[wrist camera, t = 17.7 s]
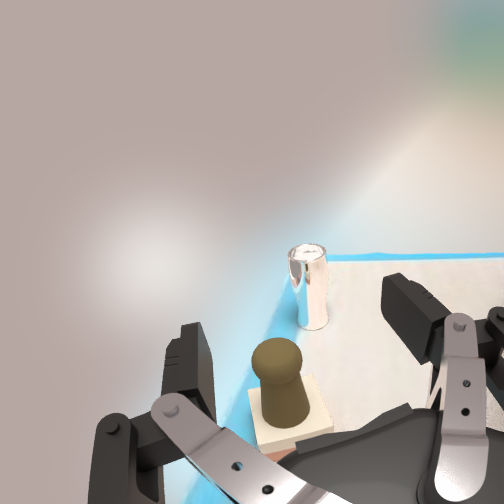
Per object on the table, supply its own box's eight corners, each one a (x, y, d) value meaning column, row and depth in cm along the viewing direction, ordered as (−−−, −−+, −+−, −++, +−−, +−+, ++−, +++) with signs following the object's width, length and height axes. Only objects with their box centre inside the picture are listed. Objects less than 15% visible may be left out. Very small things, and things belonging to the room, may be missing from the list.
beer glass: (323, 335, 52) (318, 264, 46) (289, 327, 56) (279, 259, 50) (335, 312, 57) (332, 244, 51) (304, 307, 61) (296, 241, 55)
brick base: (314, 398, 40) (313, 373, 37) (332, 446, 32) (333, 425, 29) (255, 412, 40) (247, 389, 37) (265, 463, 31) (257, 444, 29)
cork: (254, 422, 32) (234, 365, 27) (271, 387, 37) (258, 326, 32) (301, 433, 29) (295, 376, 25) (315, 394, 34) (312, 332, 30)
